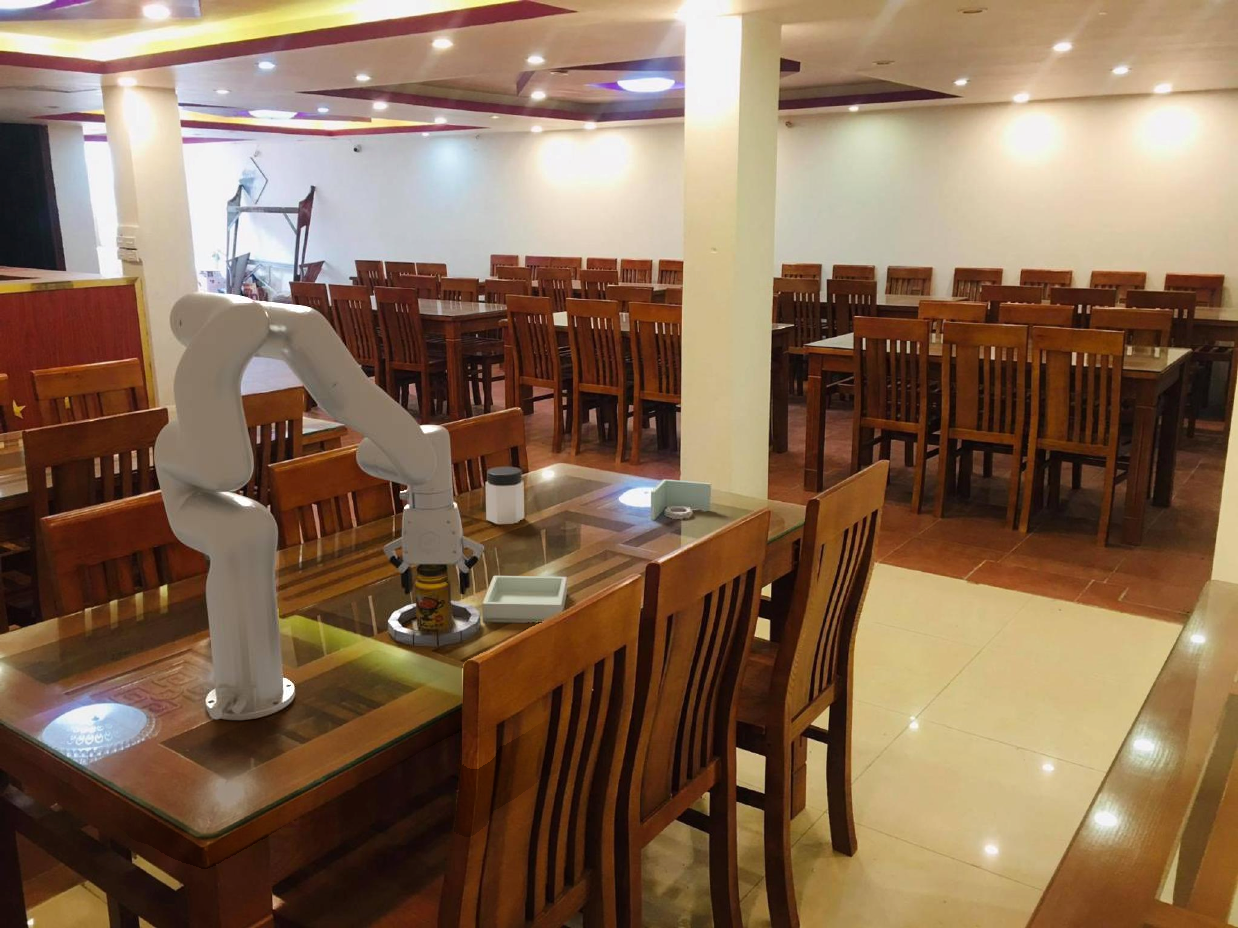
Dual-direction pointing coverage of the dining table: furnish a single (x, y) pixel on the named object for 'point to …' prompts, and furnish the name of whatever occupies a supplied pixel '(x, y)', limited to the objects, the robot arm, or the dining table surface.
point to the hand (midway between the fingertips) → (436, 591)
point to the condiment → (433, 599)
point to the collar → (434, 637)
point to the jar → (504, 495)
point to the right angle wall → (680, 498)
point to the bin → (524, 598)
